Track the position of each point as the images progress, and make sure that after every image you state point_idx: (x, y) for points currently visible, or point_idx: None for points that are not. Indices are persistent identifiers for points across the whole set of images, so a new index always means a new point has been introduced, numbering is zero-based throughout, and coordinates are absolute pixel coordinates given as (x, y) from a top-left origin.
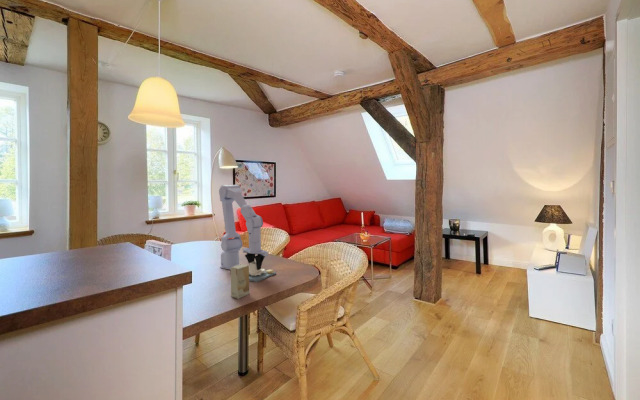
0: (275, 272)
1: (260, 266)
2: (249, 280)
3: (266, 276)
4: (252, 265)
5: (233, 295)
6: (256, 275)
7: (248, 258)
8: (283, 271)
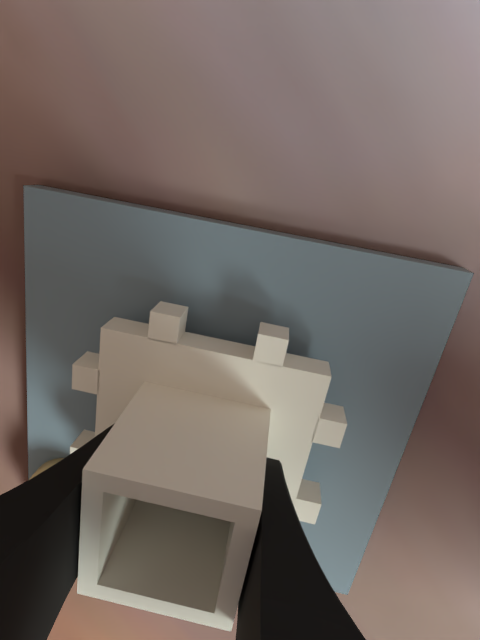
0: None
1: None
2: (165, 210)
3: (29, 376)
4: (180, 460)
5: None
6: None
7: (275, 616)
8: None
